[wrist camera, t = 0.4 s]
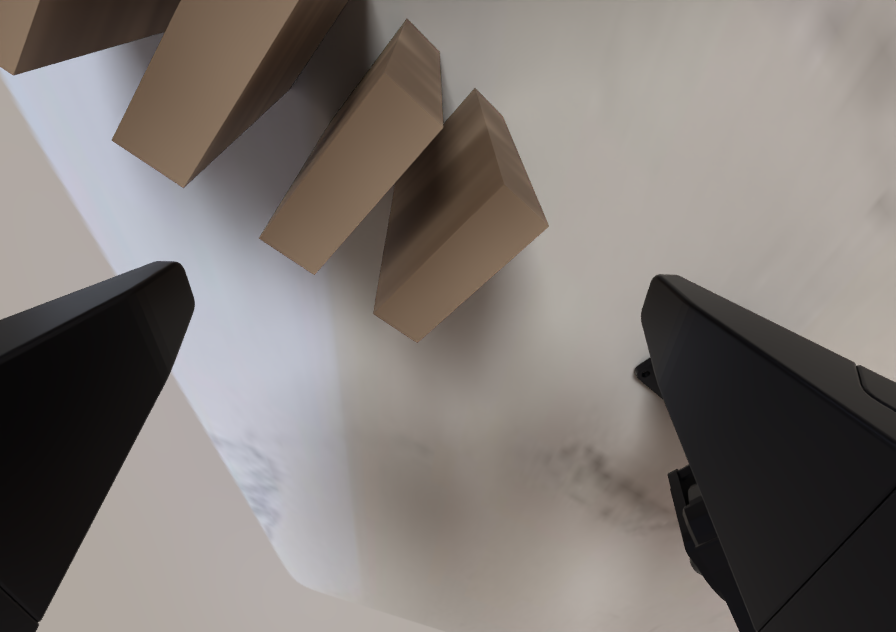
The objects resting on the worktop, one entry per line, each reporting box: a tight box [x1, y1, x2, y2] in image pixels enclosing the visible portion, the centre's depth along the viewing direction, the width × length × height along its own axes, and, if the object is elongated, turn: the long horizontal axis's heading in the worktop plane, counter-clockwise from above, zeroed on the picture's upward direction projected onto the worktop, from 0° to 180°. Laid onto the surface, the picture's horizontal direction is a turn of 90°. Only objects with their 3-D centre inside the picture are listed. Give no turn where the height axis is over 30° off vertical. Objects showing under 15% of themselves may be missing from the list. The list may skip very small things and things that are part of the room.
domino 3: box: [112, 0, 349, 188], centre depth 14 cm, size 2×5×10 cm, turn 138°
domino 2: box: [259, 19, 443, 275], centre depth 15 cm, size 2×5×10 cm, turn 137°
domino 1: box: [373, 88, 549, 343], centre depth 17 cm, size 2×5×10 cm, turn 138°
